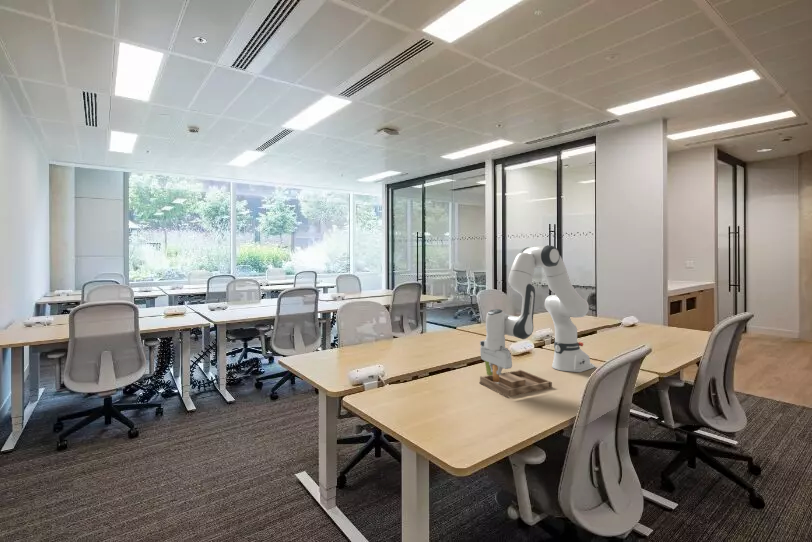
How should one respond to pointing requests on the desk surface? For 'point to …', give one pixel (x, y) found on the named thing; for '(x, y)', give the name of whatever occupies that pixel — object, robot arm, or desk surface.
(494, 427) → the desk surface
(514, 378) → the channel
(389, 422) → the desk surface
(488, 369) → the plant pot
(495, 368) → the dowel
